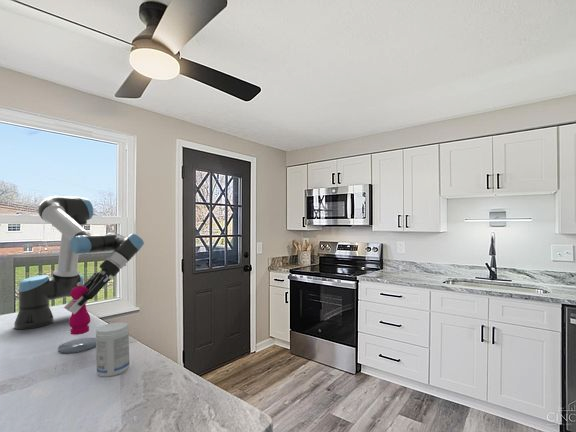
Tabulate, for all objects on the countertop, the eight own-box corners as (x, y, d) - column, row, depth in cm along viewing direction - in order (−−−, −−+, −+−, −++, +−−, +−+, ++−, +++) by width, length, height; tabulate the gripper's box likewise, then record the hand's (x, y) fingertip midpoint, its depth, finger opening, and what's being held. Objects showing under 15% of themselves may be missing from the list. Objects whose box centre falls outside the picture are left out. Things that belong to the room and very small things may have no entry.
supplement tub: (129, 362, 111) (129, 320, 112) (129, 373, 103) (128, 328, 103) (97, 368, 107) (97, 324, 108) (94, 380, 99) (94, 333, 99)
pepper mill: (94, 329, 130) (94, 280, 131) (81, 335, 123) (80, 283, 124) (78, 329, 131) (77, 280, 132) (64, 335, 124) (63, 284, 125)
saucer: (49, 350, 123) (49, 348, 123) (84, 338, 136) (84, 335, 136) (74, 355, 118) (74, 352, 118) (107, 342, 131) (107, 339, 131)
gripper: (128, 271, 133) (84, 320, 120) (111, 268, 145) (70, 312, 133) (114, 260, 129) (67, 309, 117) (99, 257, 142) (54, 301, 129)
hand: (69, 310), depth 125 cm, fingers closed on pepper mill, 6 cm apart
